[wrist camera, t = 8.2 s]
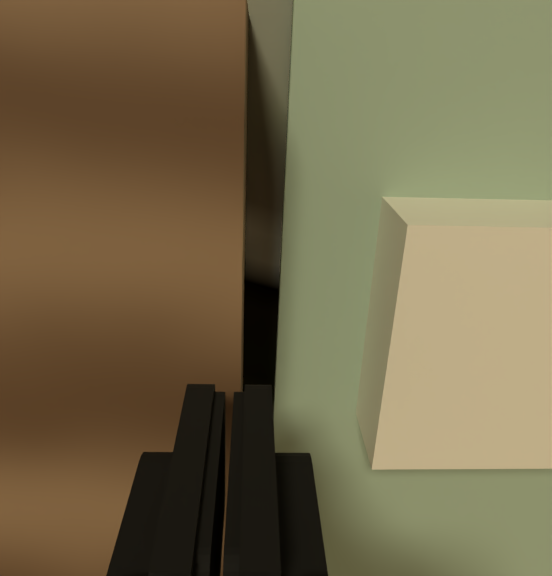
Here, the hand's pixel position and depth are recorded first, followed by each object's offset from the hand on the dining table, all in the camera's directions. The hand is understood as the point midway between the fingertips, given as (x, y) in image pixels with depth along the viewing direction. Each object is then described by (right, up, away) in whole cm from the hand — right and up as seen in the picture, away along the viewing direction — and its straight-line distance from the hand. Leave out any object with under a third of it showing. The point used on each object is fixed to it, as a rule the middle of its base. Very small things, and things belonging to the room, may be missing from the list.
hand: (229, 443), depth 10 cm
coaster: (+7, +1, +2) cm, 8 cm away
